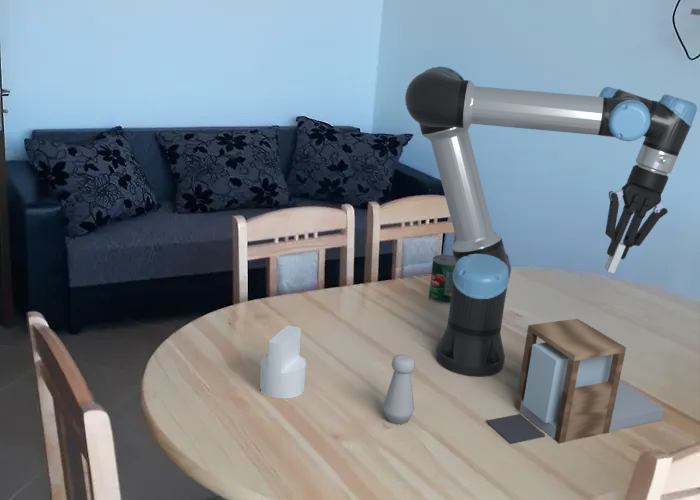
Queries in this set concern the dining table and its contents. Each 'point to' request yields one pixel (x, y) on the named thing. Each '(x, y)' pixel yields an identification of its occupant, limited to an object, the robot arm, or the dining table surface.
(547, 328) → the tunnel
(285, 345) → the cylinder with rectangular tab
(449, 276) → the canned tomato
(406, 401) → the salt shaker
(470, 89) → the robot arm
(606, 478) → the dining table surface
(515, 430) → the dark grey square plate
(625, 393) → the runway
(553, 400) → the block
